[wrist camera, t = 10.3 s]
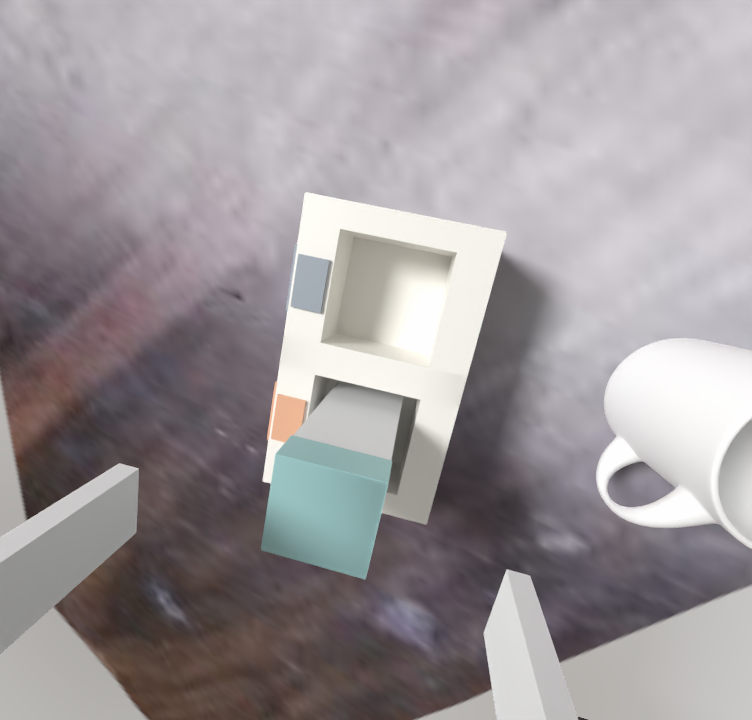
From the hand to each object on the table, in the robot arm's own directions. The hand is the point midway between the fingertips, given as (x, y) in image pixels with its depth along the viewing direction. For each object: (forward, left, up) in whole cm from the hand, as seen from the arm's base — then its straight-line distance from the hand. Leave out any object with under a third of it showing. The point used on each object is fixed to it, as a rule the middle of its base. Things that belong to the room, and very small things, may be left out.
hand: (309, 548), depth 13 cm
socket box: (-4, 0, -16) cm, 17 cm away
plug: (0, 0, -14) cm, 14 cm away
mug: (-4, +19, -16) cm, 25 cm away
